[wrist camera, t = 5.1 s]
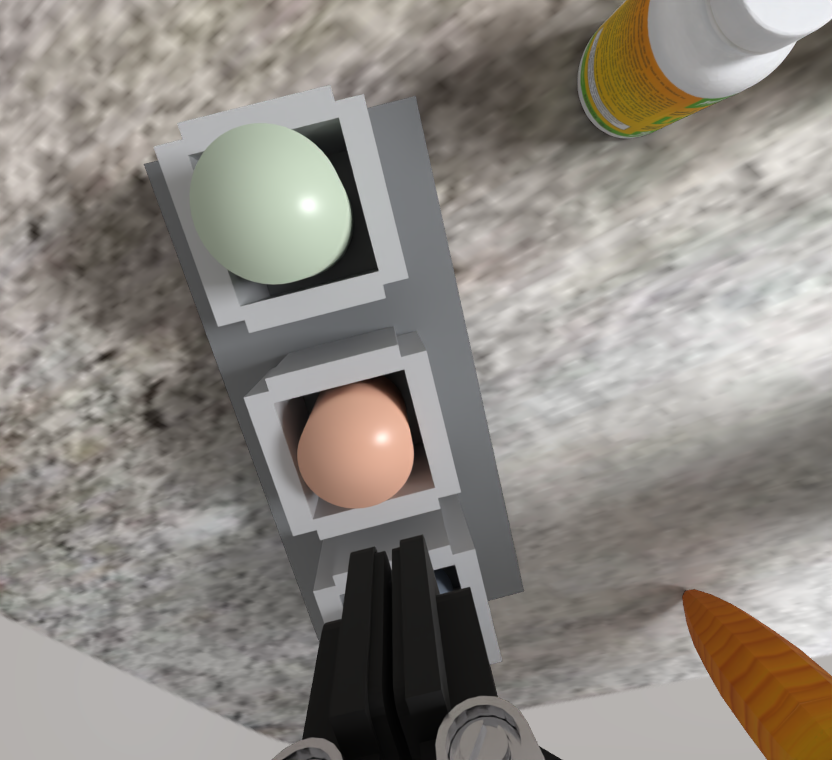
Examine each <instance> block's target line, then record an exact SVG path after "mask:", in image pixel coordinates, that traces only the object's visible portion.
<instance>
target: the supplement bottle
mask: <svg viewBox="0 0 832 760" xmlns="http://www.w3.org/2000/svg"><path fill="white" fill-rule="evenodd" d="M831 19H832V0H625V1H624V2H623V3H622V4H621V5H620V6H619V7H618V8H617V9H616V10H615V11H614V13H613V14H612V15H611V16H610V17H609V18H608V19H607V20H606V21H605V22H604V23H603V24H602V25H601V26H600V27H599V29H598V30H597V31H596V32H595V33H594V34H593V36H592V37H591V39H590V40H589V42H588V44H587V46H586V48H585V50H584V52H583V55H582V58H581V61H580V65H579V70H578V93H579V98H580V101H581V104H582V107H583V109H584V111H585V113H586V115H587V116H588V118H589V119H590V120H591V122H592V123H593V124H594V125H595V126H596V127H597V128H599V129H600V130H602V131H603V132H605V133H607V134H609V135H611V136H614V137H618V138H637V137H641V136H644V135H647V134H649V133H652V132H654V131H657V130H659V129H661V128H663V127H665V126H667V125H669V124H671V123H674V122H676V121H678V120H680V119H682V118H684V117H687V116H689V115H691V114H693V113H695V112H697V111H699V110H702V109H704V108H706V107H708V106H711V105H713V104H715V103H717V102H719V101H722V100H724V99H726V98H728V97H730V96H733V95H735V94H737V93H739V92H741V91H743V90H745V89H747V88H749V87H751V86H753V85H755V84H756V83H758V82H760V81H761V80H762V79H764V78H765V77H767V76H768V75H769V74H770V73H771V72H772V71H774V70H775V69H776V68H777V67H778V66H779V65H780V64H781V62H782V61H783V60H784V59H785V58H786V56H787V55H788V54H789V53H790V51H791V49H792V48H793V46H794V45H795V43H796V41H798V40H799V39H801V38H803V37H805V36H807V35H808V34H810V33H812V32H814V31H816V30H818V29H819V28H820V27H822V26H823V25H825V24H826V23H827V22H829V21H830V20H831Z"/></svg>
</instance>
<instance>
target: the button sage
mask: <svg viewBox="0 0 832 760" xmlns="http://www.w3.org/2000/svg"><path fill="white" fill-rule="evenodd" d="M189 195H190V209H191V216H192V219H193V223H194V226H195V228H196V231H197V233H198V236H199V237H200V239H201V241H202V243H203V244H204V246H205V247H206V249H207V250H208V251H209V253H210V254H211V255H212V256H213V257H214V258H215V259H216V260H217V261H218V262H219V263H220V264H221V265H223V266H224V267H225V268H226V269H228V270H229V271H231V272H232V273H234V274H236V275H238V276H240V277H242V278H244V279H247V280H250V281H253V282H257V283H262V284H285V283H290V282H294V281H298V280H301V279H305V278H308V277H312V276H315V275H318V274H321V273H323V272H325V271H327V270H328V269H330V268H331V267H333V266H334V265H335V264H336V263H337V262H338V261H339V260H340V259H341V258H342V257H343V255H344V254H345V252H346V251H347V248H348V246H349V244H350V241H351V238H352V234H353V226H354V218H353V210H352V206H351V203H350V200H349V197H348V195H347V193H346V191H345V189H344V187H343V185H342V183H341V181H340V179H339V177H338V175H337V173H336V171H335V169H334V167H333V165H332V164H331V162H330V161H329V159H328V158H327V157H326V155H325V154H324V153H323V152H322V151H321V150H320V149H319V148H318V147H317V146H316V145H315V144H314V143H313V142H312V141H310V140H309V139H308V138H306V137H305V136H303V135H301V134H300V133H298V132H296V131H294V130H291V129H289V128H287V127H283V126H279V125H276V124H268V123H253V124H247V125H242V126H239V127H236V128H233V129H231V130H229V131H227V132H225V133H224V134H222V135H221V136H219V137H218V138H216V139H215V140H214V141H213V142H212V143H211V144H210V145H209V146H208V147H207V148H206V150H205V151H204V152H203V154H202V155H201V157H200V159H199V160H198V162H197V164H196V167H195V169H194V172H193V175H192V179H191V184H190V194H189Z"/></svg>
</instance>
